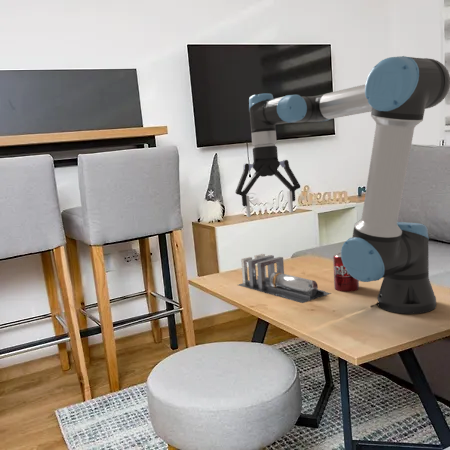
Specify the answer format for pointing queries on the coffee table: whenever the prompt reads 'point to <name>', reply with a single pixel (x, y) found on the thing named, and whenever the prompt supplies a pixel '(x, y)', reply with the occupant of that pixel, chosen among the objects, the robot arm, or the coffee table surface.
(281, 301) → the coffee table surface
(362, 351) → the coffee table surface
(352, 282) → the soda can
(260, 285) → the gray roller rack tray
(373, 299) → the coffee table surface
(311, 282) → the tube
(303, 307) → the coffee table surface
